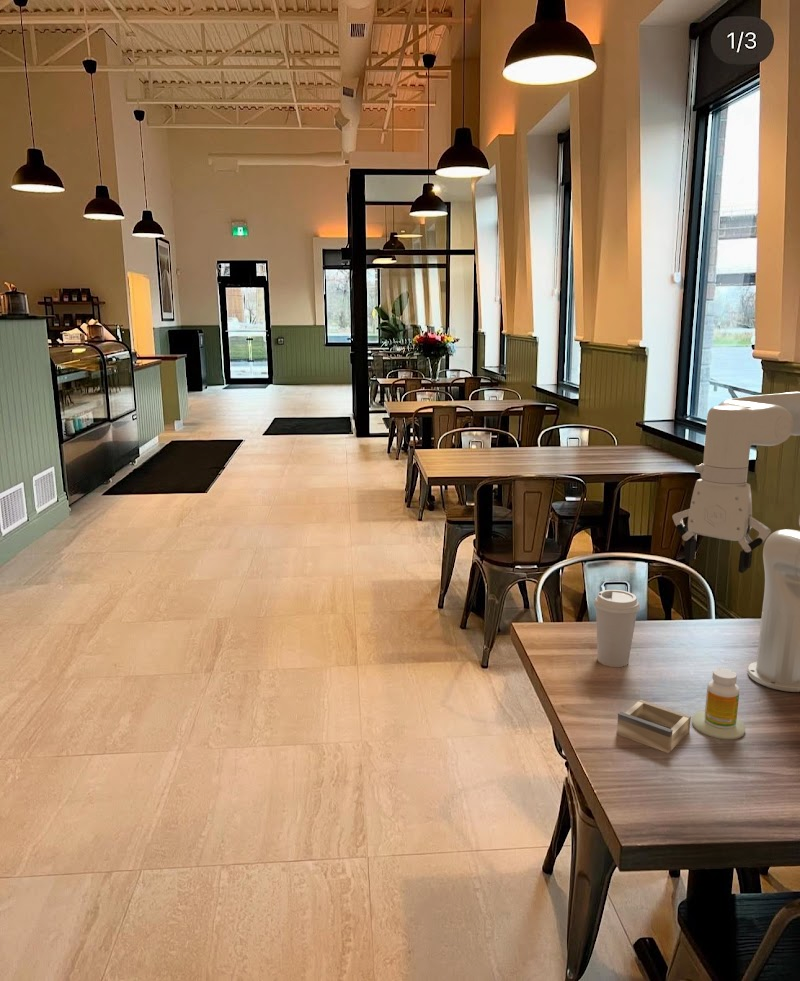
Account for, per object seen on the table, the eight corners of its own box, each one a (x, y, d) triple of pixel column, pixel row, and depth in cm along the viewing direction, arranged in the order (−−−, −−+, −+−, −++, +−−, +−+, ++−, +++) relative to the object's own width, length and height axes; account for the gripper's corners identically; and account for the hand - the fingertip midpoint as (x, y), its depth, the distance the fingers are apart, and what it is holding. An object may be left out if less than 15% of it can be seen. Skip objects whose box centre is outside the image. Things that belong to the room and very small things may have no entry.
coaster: (702, 709, 146) (702, 705, 146) (751, 725, 140) (752, 721, 140) (684, 727, 140) (684, 723, 139) (735, 745, 134) (735, 740, 134)
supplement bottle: (739, 731, 137) (744, 681, 135) (707, 728, 138) (712, 678, 136) (732, 716, 142) (737, 668, 140) (701, 713, 143) (706, 665, 141)
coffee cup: (601, 647, 173) (605, 585, 170) (642, 659, 167) (647, 594, 164) (582, 662, 166) (586, 596, 163) (624, 674, 160) (629, 607, 157)
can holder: (639, 714, 144) (640, 694, 143) (689, 731, 138) (691, 711, 137) (616, 734, 137) (618, 713, 136) (668, 753, 131) (670, 732, 130)
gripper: (669, 471, 140) (662, 560, 144) (769, 484, 129) (758, 580, 133) (684, 466, 146) (677, 551, 150) (782, 478, 135) (771, 570, 139)
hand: (715, 565), depth 141 cm, fingers open, 9 cm apart
